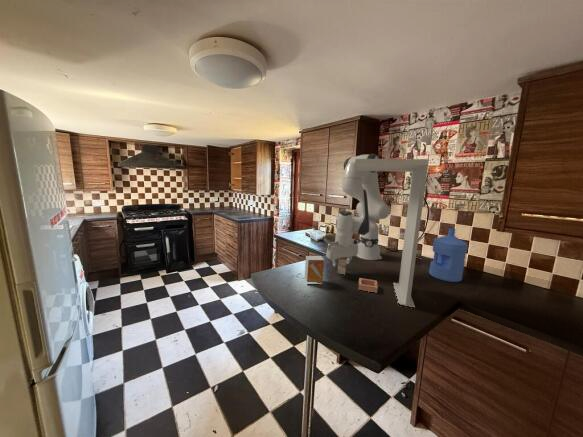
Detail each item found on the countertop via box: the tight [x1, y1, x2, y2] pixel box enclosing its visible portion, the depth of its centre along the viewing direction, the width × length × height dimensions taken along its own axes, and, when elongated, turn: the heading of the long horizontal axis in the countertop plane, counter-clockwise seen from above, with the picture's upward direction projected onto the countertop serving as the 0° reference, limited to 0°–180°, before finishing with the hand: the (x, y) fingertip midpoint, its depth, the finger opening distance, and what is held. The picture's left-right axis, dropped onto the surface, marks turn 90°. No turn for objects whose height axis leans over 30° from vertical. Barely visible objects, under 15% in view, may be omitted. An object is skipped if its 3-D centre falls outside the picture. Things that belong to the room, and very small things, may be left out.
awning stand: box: [355, 158, 430, 309], centre depth 104 cm, size 22×28×60 cm
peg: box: [336, 257, 347, 276], centre depth 127 cm, size 4×4×9 cm
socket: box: [357, 277, 378, 294], centre depth 110 cm, size 8×8×3 cm
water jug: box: [428, 227, 468, 283], centre depth 127 cm, size 16×16×28 cm
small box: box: [304, 255, 325, 284], centre depth 114 cm, size 8×6×13 cm
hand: (341, 264), depth 127 cm, fingers open, 8 cm apart
